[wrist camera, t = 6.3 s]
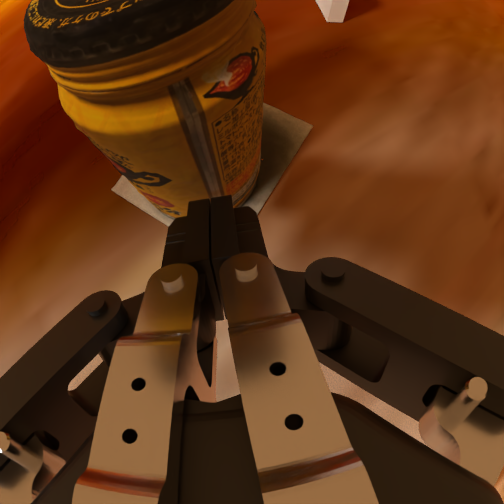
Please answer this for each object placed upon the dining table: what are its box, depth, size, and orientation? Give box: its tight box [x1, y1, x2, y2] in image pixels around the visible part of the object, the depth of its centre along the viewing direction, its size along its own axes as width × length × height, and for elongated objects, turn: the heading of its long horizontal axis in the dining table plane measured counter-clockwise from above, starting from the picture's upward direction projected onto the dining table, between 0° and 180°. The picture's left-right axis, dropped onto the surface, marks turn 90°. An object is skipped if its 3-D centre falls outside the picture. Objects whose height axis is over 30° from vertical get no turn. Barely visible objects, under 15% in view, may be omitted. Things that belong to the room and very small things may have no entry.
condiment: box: [24, 0, 313, 226], centre depth 10 cm, size 7×8×12 cm
